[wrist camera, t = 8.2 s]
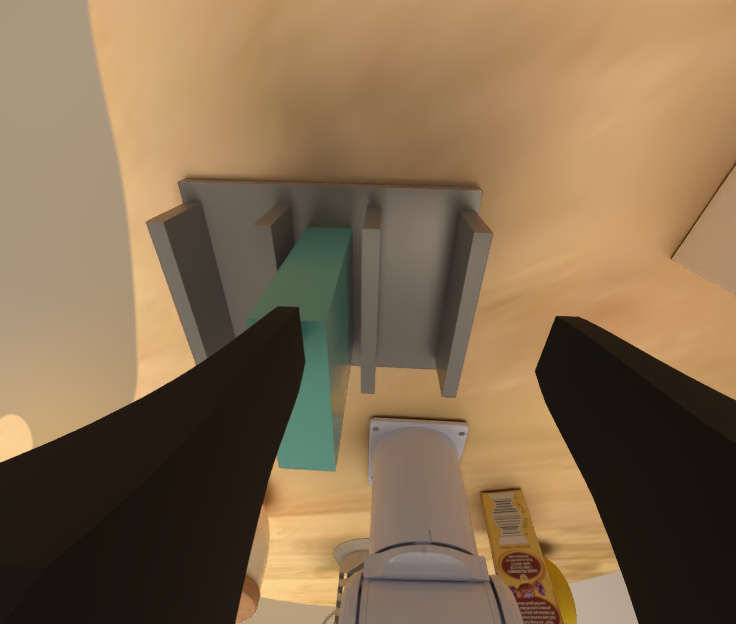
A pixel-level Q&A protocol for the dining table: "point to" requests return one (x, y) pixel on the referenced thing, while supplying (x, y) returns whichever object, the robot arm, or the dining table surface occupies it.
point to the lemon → (562, 593)
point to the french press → (349, 566)
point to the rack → (370, 264)
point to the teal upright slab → (316, 342)
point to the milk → (714, 239)
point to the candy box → (519, 556)
